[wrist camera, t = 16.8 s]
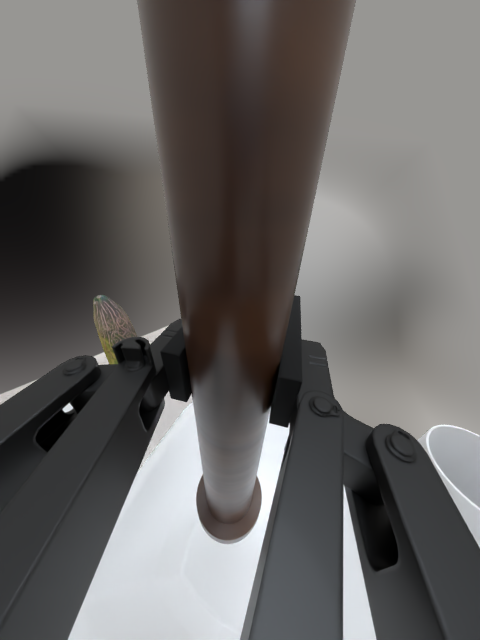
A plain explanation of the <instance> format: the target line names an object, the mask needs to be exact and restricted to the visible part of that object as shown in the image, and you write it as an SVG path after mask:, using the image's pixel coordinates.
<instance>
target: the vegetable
mask: <svg viewBox="0 0 480 640" xmlns="http://www.w3.org/2000/svg"><path fill="white" fill-rule="evenodd" d="M93 305H94V322H95V325H96V328H97V331H98V335H99V338H100V341H101V344H102V347H103V350H104V352H105V354H106V357H107V359H108V362H109V364H118V362H117V359H116V357H115V354H114V352H113V349H112V346H113V345H114V344H116V343H117V342H119V341H121V340H123V339H126V338H130V337H137V335H136V332H135V330H134V328H133V326H132V324H131V321H130V319H129V317H128V316H127V314H126V313H125V311H124V310H123V309H122V308H121V307H120V306H119V305H118V304H117V303H115V302H114V301H112V300H111V299H110V298H109V297H107V296H104V295H99V296H97V297H95V298H94V300H93Z"/></svg>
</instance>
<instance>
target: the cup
mask: <svg viewBox="0 0 480 640" xmlns="http://www.w3.org/2000/svg"><path fill="white" fill-rule="evenodd" d="M417 441H418V442H419V443H420V444H421V445H422V447H423V448H424V450H425V451H426V452H427V454H428V456H429V458H430V459H431V461H432V463H433V465H434V467H435V468H436V470H437V472H438V474H439V476H440V477H441V479H442V481H443V483H444V485H445V486H446V488H447V490H448V492H449V494H450V495H451V497H452V499H453V501H454V503H455V504H456V506H457V508H458V510H459V512H460V513H461V515H462V517H463V519H464V521H465V522H466V524H467V526H468V528H469V530H470V531H471V533H472V535H473V537H474V539H475V540H476V542H477V544H478V546H479V548H480V435H478V434H476V433H473V432H471V431H469V430H466V429H463V428H460V427H456V426H452V425H437V426H434V427H432V428H430V429H429V430H428V431H427V432H426V433H424V434H423V436H421V437H420V438H419V439H418V440H417Z"/></svg>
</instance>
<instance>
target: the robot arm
mask: <svg viewBox="0 0 480 640" xmlns="http://www.w3.org/2000/svg"><path fill="white" fill-rule="evenodd" d="M112 349H113V352H114V354H115V357H116V359H117V362H118V364H109V365H98V363H97V361H96V359H95V358H94V357H92V356H86V355H85V356H78V357H75V358H72V359H69V360H67V361H66V362H64V363H62V364H60V365H59V366H58V367H56V368H54V369H53V370H52V371H50V372H49V373H47V374H46V375H44V376H43V377H41V378H40V379H38V380H37V381H35V382H34V383H32V384H31V385H29V386H28V387H26V388H25V389H23V390H22V391H20V392H19V393H17V394H16V395H14V396H13V397H11V398H10V399H8V400H7V401H5V402H4V403H2V404H1V405H0V640H68V638H69V635H70V633H71V630H72V628H73V626H74V623H75V621H76V618H77V616H78V613H79V611H80V609H81V606H82V604H83V601H84V599H85V597H86V594H87V592H88V589H89V587H90V585H91V582H92V580H93V577H94V575H95V573H96V570H97V568H98V565H99V563H100V560H101V558H102V556H103V553H104V551H105V548H106V546H107V544H108V541H109V539H110V536H111V534H112V532H113V529H114V527H115V524H116V522H117V520H118V517H119V515H120V512H121V510H122V508H123V505H124V503H125V500H126V498H127V495H128V493H129V491H130V488H131V486H132V483H133V481H134V479H135V476H136V474H137V471H138V469H139V467H140V464H141V462H142V459H143V457H144V455H145V452H146V450H147V447H148V445H149V442H150V440H151V438H152V435H153V433H154V430H155V428H156V426H157V423H158V421H159V418H160V416H161V414H162V411H163V409H164V405H165V401H164V397H165V395H166V394H167V392H168V391H169V392H170V397H171V398H172V399H176V400H180V401H184V402H187V401H188V399H189V397H190V395H191V393H192V391H191V384H190V377H189V370H188V362H187V355H186V348H185V341H184V334H183V326H182V319H179V320H177V321H175V322H173V323H171V324H170V325H169V326H168V327H167V328H166V330H164V331H163V332H162V333H161V335H159V336H158V337H157V338H156V339H155V341H154V342H153V343H152V344H151V345H150V344H149V341H148V340H147V339H145V338H142V337H130V338H126V339H123V340H121V341H119V342H117V343H116V344H114V345H113V346H112ZM69 403H70V404H71V406H72V407H73V409H72V410H70V411H69V412H64V411H63V408H64V407H65V406H66V405H68V404H69ZM269 423H270V424H274V425H278V426H282V427H286V428H288V426H289V423H290V428H289V436H288V439H287V442H286V445H285V448H284V455H283V459H282V463H281V468H280V472H279V476H278V480H277V485H276V489H275V493H274V497H273V502H272V506H271V510H270V514H269V519H268V523H267V527H266V531H265V535H264V540H263V544H262V548H261V552H260V557H259V561H258V565H257V569H256V574H255V578H254V582H253V586H252V591H251V595H250V599H249V603H248V607H247V612H246V616H245V620H244V624H243V629H242V633H241V637H240V640H343V499H344V487H345V492H346V497H347V501H348V506H349V511H350V516H351V521H352V525H353V530H354V535H355V540H356V544H357V549H358V554H359V559H360V563H361V568H362V573H363V578H364V583H365V587H366V592H367V597H368V602H369V606H370V611H371V616H372V621H373V625H374V630H375V635H376V640H480V548H479V546H478V544H477V542H476V540H475V539H474V537H473V535H472V533H471V531H470V530H469V528H468V526H467V524H466V522H465V521H464V519H463V517H462V515H461V513H460V512H459V510H458V508H457V506H456V504H455V503H454V501H453V499H452V497H451V495H450V494H449V492H448V490H447V488H446V486H445V485H444V483H443V481H442V479H441V477H440V476H439V474H438V472H437V470H436V468H435V467H434V465H433V463H432V461H431V459H430V458H429V456H428V454H427V452H426V451H425V450H424V448H423V447H422V445H421V444H420V443H419V442H418V441H417V440H416V439H415V438H414V437H413V436H412V435H410V434H409V433H408V432H406V431H404V430H403V429H401V428H399V427H396V426H393V425H390V424H380V425H378V426H376V427H375V428H372V427H370V426H368V425H366V424H364V423H362V422H360V421H358V420H356V419H354V418H353V417H351V416H349V415H348V414H347V413H345V412H344V411H343V410H342V408H341V406H340V404H339V403H338V401H337V400H335V398H334V395H333V390H332V384H331V379H330V374H329V368H328V362H327V356H326V351H325V349H324V348H323V347H322V345H321V344H320V343H318V342H313V341H307V340H301V311H300V296H295V295H294V299H293V304H292V308H291V313H290V318H289V323H288V328H287V332H286V337H285V342H284V347H283V351H282V356H281V361H280V365H279V370H278V375H277V380H276V384H275V389H274V394H273V399H272V404H271V410H270V418H269Z"/></svg>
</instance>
